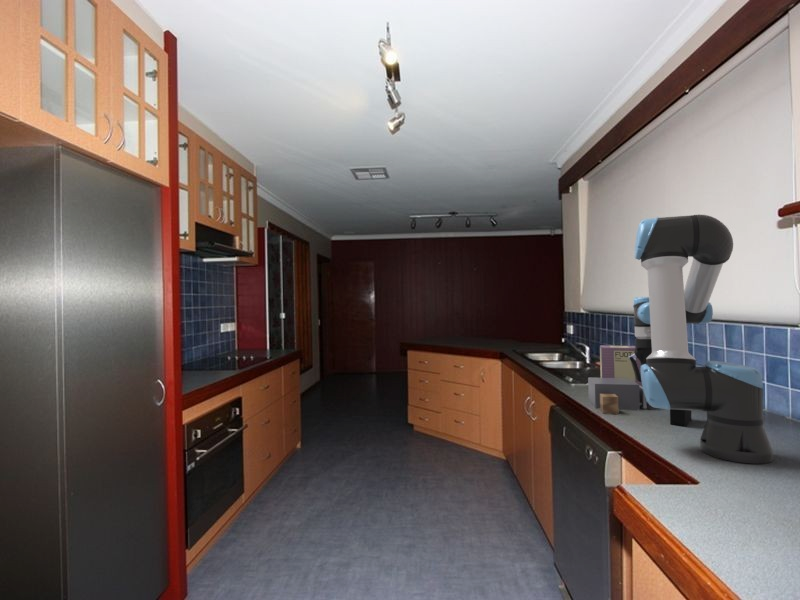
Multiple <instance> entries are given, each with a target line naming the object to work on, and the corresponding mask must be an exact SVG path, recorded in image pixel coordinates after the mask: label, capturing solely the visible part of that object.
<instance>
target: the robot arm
mask: <svg viewBox="0 0 800 600" xmlns="http://www.w3.org/2000/svg"><path fill="white" fill-rule="evenodd" d="M733 239H734V238H733V236H732V234H731V231H730V229H729V227H727V225H725V224H724V223H723V222H722V221H720V220H719V219H717V218H715V217H713V216H711V215H706V214H693V215H691V214H690V215H680V216H678V215H677V216H666V217H664V216H663V217H659V216H657V217H654V218H647V219H646V218H645V219H643V220H641V221H640V223H639V224H638V228H637V231H636V237H635V247H634V259H635V260H638V261H640V265H641V267H643V269H645V270H646V271H647V285H648V296H640V297H638V296H637V297H635V298H634V299H633V306H632V307H633V316H634V317H633V319H634V337H636V338H635V339H634V344H635V345H634V346H635V352H634V354H633V355H631V356H628V359H629V360H630V361H631V363H632V366H633V370H634V373H635V376H636V379H637V380H638V381H639V382H642V387H643V390H644V394H645V397H646V400H647V404H648V405H649V406H651V407H652V408H655V409H665V410H667V411H668V410H669V411H670V409H675V410H691V412H692V411H693V412H696V411H697V412H706V423H705V426H704V428H703V431H702V434H701V435H700V438H699V449H700V451H701V452H702V453H705V454H706V455H709V456H711V457H714V458H717V459H719V460H720V459H721V460H725V461H730V462H735V463H743V464H745V463H746V464H759V465H760V464H768V463H771V462H773V461H774V450H773V447H772V444H771V442H770V440H769V438H768V437H769V436H768V435H767V433H766V430H765V427H764V391H763V390H764V389H765V388H764V383H763V376H762V373H761V371H760V370H759V369H757V368H755V367H753V366H749V365H748V366H747V365H743V364H739V363H732V362H726V361H719V360H718V361H717V360H707V361H706V362H705V364H704V366H700V365H699V366H698V365H697V360H696V358H695V357H694V356H693V355H692V354H691V353H690V352H689V343H688V342H689V341H688V328H687V325H688V324H691V325H692V324H694V325H699V324H709V323H711V322H712V320H713V316H714V315H713V313H714V311H713V305H712V303H711V302H710V299H711V297H712V294H713V291H714V289H715V286H716V283H717V281H718V278H719V275H720V273H721V270H722V267H723V264H726V263H727V262H728V261H729V260H730V258H731V256H732V253H733V250H734V240H733ZM690 257H691V258H693V259H692V262H691V266H690V268H689V272H688V275H687V278H686V283H685V285H684V275H683V274H684V272H683V268H684V267H685V266H686V265H687V264H688V263H689V258H690ZM636 357H637V358H638V359H639V360H640V362H641V368H640V371H641V376H640V372H639V369H638V366H637V363H636V361H635V360H636Z"/></svg>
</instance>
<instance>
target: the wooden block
mask: <svg viewBox="0 0 800 600" xmlns="http://www.w3.org/2000/svg"><path fill="white" fill-rule="evenodd" d="M599 410H600V412H601V413H602V414H604V415H605V414H608V415H619V409H618V396H616V395H615V394H600V408H599Z"/></svg>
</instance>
